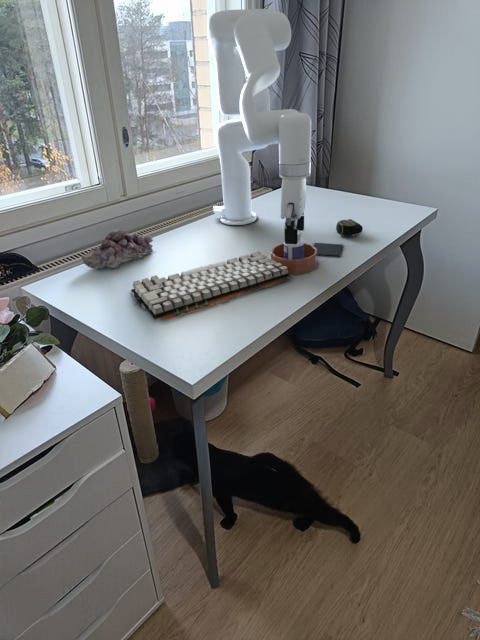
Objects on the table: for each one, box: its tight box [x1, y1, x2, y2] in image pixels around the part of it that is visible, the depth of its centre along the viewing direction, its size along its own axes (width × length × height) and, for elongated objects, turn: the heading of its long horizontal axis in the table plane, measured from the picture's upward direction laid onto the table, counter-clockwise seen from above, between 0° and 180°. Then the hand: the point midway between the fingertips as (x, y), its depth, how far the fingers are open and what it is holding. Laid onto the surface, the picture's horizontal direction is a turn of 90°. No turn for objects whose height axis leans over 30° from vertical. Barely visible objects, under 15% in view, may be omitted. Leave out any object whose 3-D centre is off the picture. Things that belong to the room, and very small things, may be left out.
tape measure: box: [335, 218, 363, 237], centre depth 137 cm, size 7×7×4 cm
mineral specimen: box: [81, 228, 154, 270], centre depth 128 cm, size 20×10×10 cm
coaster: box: [313, 242, 343, 257], centre depth 129 cm, size 8×8×1 cm
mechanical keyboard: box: [130, 250, 292, 322], centre depth 113 cm, size 38×19×3 cm, turn 120°
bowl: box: [270, 242, 318, 275], centre depth 121 cm, size 12×12×4 cm
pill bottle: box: [283, 230, 305, 260], centre depth 119 cm, size 5×5×9 cm
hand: (294, 236), depth 117 cm, fingers open, 9 cm apart
